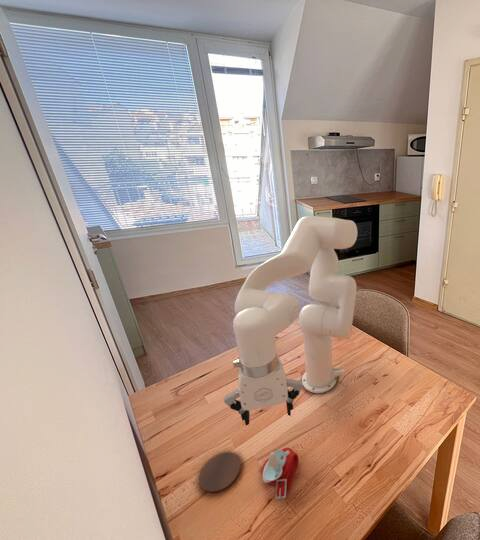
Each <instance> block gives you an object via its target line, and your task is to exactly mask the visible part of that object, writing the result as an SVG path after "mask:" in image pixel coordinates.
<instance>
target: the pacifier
mask: <svg viewBox="0 0 480 540" xmlns="http://www.w3.org/2000/svg"><path fill="white" fill-rule="evenodd" d="M282 456H283V459H282V460H281V457H282ZM268 458H269V461H268V462H267V463H266V465H265V467H264V470H263V479H262V481H263V482H264V483H265V484H267V483H269V482H271V481H274V480H276V479H278V478H279V477H280V476H281V474H282V467H283V466H284V464H285V462H286V454H285V452H284V451H283V450H282V449H278V450H276V451H274V452H273V451H271V453H270V454H269V457H268Z"/></svg>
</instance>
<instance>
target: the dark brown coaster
mask: <svg viewBox="0 0 480 540" xmlns="http://www.w3.org/2000/svg"><path fill="white" fill-rule="evenodd" d="M241 469H242V463H241V459H240V457H239V456H238V455H237V454H236V453H234V452H231V451H227V452H221V453H218V454H216V455H214V456H213V457H211V458H210V459H208V460H207V462H206V463H205V464H204V465H203V467H202V469H201V471H200V472H199V477H198V482H199V485H200V487H201V489H202V490H203V491H204V492H206V493H209V494H217V493H220V492H223V491H225V490H227V489H228V488H230V487H231V486H232V485H233V484H234V483H235V482H236V480H237V479H238V477H239V475H240V473H241Z"/></svg>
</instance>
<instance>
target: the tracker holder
mask: <svg viewBox="0 0 480 540" xmlns="http://www.w3.org/2000/svg"><path fill="white" fill-rule="evenodd" d="M281 450H283V451H284V452H285V454H286V462H285V464H284V466H283V467H282V474H281V476H280V477H279V478H278V479H276V480H274V481H271V482H269V483H266V484H267V485H275V486H276V487H275V500H279V499H286V498H287V496H288V495H289V492H290V489H291V486H292V482H293V481H294V478H295V474H296V471H297V468H298V467H299V461H300V460H299V459H300V458H299V455H298V453H296V452H295V451H294V450H293V449H292V448H291V447H284V448H282V449H281ZM282 459H283V456H282V457H281V460H282ZM268 461H269V457H268V458H267V460H266V461H265V462H264V464H263V466H262V468H261V479H262V480H263V470H264V467H265V465H266V463H267V462H268Z"/></svg>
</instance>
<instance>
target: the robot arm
mask: <svg viewBox="0 0 480 540" xmlns="http://www.w3.org/2000/svg"><path fill="white" fill-rule="evenodd" d="M357 238H358V227H357V224H356V223H355V221H353V220H350V219H343V218H338V217H327V216H317V215H306V216H303V217H301V218H299V220H298V221H297V222H296V224H295V226H294V228H293V230H292V231H291V233H290V236H289V237H288V239H287V240H286V243H285V245H284V246H283V248H282V250H281V252H280V253H278V254H277V255H275V256H273V257H271V258H269V259H268V260H266V261H265V262H263V263H261V264H260V265H258V266H257V267H255V268H254V269H253V270H252V271H251V272H250V273H249V274H248V276H246V277H247V278H245V280H244V282H243V284H242V286H241V288H240V289H239V291H238V293H237V295H236V298H235V301H234V312H235V316H234V318H233V321H232V327H233V334H234V338H235V342H236V347H237V352H238V356H239V358H238V359H236V360H232V361H233V363H232V364H233V368H239V370H238V375H237V378H238V379H237V381H238V388H236V389H235V390H233V391H232V392H230V393H227V394H226V395H225V396H224V398H223V403H224V404H226V405H227V406H228V407H229V408H230V409H231V410H234V411H237V413H238V414H239V415H240V417H241V421H244V424H245V426H249V425H250V418H251V417H250V416H251V414H250V411H252V410H253V411H254V410H259V409H263V408H268V407H273V406H277V405H281V404H286V411H287V416H292V411H291V410H294V404H293V403H294V400H295V399H296V398H297V397H298V396H300V392H301V391H302V389H303V388H304V389H305V390H306V391H308V392H310V393H313V394H322V393H326V392H329V391H330V390H331V389H333V388H334V386H336V384H337V379H338V378H337V377H339V376H340V377H341V376H345V375H346V370H345V369H341V366H340V365H338V366H333V342H332V338H338V339H345V338H347V337H349V336H350V334H351V333H352V327H353V322H354V315H355V314H354V313H355V307H356V301H357V300H356V299H357V282H356V279H355V278H354V277H352V276H350V275H347V274H341V273H339V274H338V272H337V271H338V264H339V258H338V254H337V252H336V251H335V250H344V249H350V248H352V247H353V246H354V245H355V243H356V242H357ZM309 271H310V276H309V281H308V296H309V297H310V298H311V299H313V300H316V301H320V302H324V303H325V302H327V303H333V304H338V306H339V307H335V306H331V305H326V304H325V305H324V304H317V303H316V304H315V303H312V304H310V303H309V304H305V306H303V307H302V308H301V305H300V301H299V300H298V298H297V297H296V296H294V295H292V294H288V293H282V292H275V291H271V290H266V289H267V288H268V287H270V286H271V285H273V284H274V283H276V282H278V281H282V280H285V279H289V278H293V277H297V276H300V275H303V274H307V272H309ZM300 309H301V310H300ZM297 319H298V322H299V327H300V330H301V333H302V338H303V339H302V340H303V351H304V352H303V353H304V364H305V365H304V366H305V367H304V368H305V372H304V373H303V374H302V377H301V380H298V379H291V378H287V376H286V372H285V368H284V365H283V363H282V361H281V358H280V357H278V351H277V344H276V336H277V335H279V334H280V333H281V332H283V331H284V330H286V329H287V328H288V327H289V326H291V325H292V324H293V323H294V322H295V321H296V320H297ZM289 388H292V389H289ZM238 398H239V399H240V400H238ZM285 402H286V403H285Z"/></svg>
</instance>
